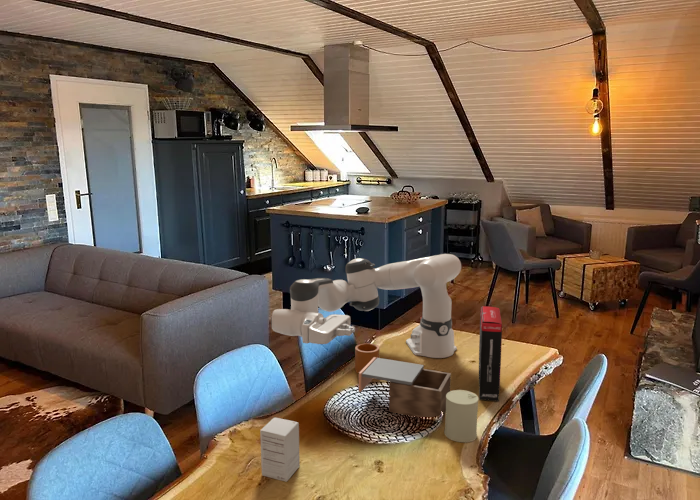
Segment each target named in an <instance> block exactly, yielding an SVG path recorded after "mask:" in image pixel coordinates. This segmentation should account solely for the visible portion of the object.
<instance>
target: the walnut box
mask: <svg viewBox="0 0 700 500" xmlns="http://www.w3.org/2000/svg"><path fill="white" fill-rule="evenodd" d="M451 381H452V372H445V371H438V370H432V369H427V368H426V369H425V368H423V370H422V371H421V373H420V374H419V375H418V377H417V378H416V380H415V381H414V383H413V384H412V385H407V384H401V383H395V382H390V383H389V390H388V391H389V393H388V394H389V395H388V396H389V398H388V399H389V401H388V412H389V411H390V412H393V413H392V414H394V413H398V414H397V415H399V414H403V415H402V416H404V415H409V416H417V417H435V416H438V415H440V414H441V411H442V412H443V414H444V415H445V414H446V394H447V393H448V392H450V391H451V385H452V384H451V383H452V382H451ZM409 416H408V417H409Z"/></svg>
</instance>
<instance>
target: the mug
mask: <svg viewBox="0 0 700 500" xmlns="http://www.w3.org/2000/svg"><path fill="white" fill-rule="evenodd" d="M354 354H355V355H354V359H355V360H354V366H355V368H354V369H355V370H354V371H355V373H357V374H358V373H359V372H360V371H361V370H362V369H363V368H364V367H365V366H366V365H367V364H368V363H369V362H370V361H371V360H372V359H373V358H374V357H376V359H377V358H380V347H379V345H377V344H375V343H369V342H366V343H365V342H363V343H359V344H357V345H355V348H354Z"/></svg>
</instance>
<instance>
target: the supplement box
mask: <svg viewBox="0 0 700 500" xmlns="http://www.w3.org/2000/svg"><path fill="white" fill-rule="evenodd" d="M299 425H300V424H299V422H297V421H294V420H289V419H286V418H284V419H283V418H280V417H272V418H271V420H270V421H268V423H266V424H265V425H264V426H263V427H262V428H261V429H260V431H259V432H260V433H259V434H260V438H259V439H260V458H261V459H260V460H261V475H262V476H264V477H267V478H270V479H275V480H278V481H282V482H288V481H289V480H290V478H291V477H293V475H294V473H295V472H296V471H297V470H298V469H299V468H300V467H301V466H300V465H301V464H300V463H301V461H300V457H301V456H300V426H299Z"/></svg>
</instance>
